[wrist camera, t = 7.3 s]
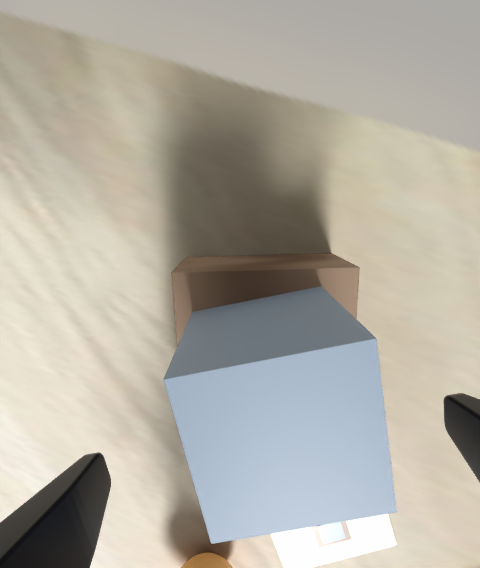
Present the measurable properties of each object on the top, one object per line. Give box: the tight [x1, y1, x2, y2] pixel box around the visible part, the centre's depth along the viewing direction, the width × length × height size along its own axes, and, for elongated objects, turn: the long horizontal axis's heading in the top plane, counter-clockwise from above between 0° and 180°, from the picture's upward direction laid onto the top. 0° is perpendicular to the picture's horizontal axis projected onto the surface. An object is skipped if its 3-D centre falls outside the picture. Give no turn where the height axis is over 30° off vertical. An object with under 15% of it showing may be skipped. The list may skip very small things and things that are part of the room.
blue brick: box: [164, 286, 397, 544], centre depth 11 cm, size 5×5×5 cm
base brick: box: [172, 253, 359, 347], centre depth 15 cm, size 7×7×4 cm
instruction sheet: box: [271, 514, 397, 568], centre depth 19 cm, size 7×6×1 cm
